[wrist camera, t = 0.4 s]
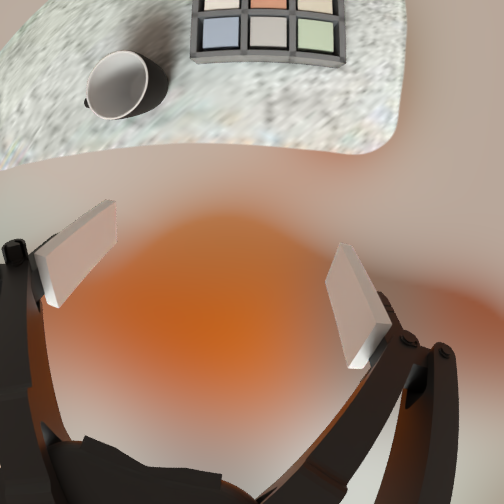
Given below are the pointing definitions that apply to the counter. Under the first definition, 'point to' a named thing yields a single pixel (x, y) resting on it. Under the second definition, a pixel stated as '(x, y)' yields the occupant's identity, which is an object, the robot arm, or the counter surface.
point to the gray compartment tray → (268, 35)
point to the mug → (125, 86)
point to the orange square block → (268, 4)
